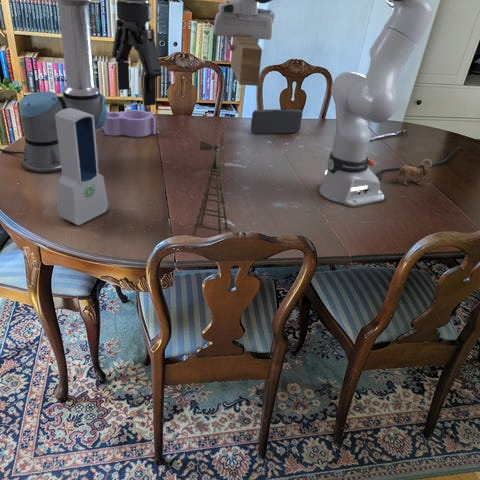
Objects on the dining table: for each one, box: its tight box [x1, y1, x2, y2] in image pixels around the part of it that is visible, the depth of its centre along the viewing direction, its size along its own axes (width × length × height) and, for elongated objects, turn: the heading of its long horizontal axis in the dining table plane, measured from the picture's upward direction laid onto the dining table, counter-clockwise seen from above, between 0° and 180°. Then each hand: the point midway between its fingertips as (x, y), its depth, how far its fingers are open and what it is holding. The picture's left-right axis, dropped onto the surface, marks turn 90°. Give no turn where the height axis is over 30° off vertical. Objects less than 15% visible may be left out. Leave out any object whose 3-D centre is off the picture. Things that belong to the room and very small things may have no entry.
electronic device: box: [55, 108, 109, 226], centre depth 126 cm, size 12×8×30 cm, turn 148°
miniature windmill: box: [192, 132, 229, 237], centre depth 124 cm, size 9×8×30 cm
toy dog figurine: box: [392, 158, 433, 186], centre depth 172 cm, size 15×5×9 cm, turn 110°
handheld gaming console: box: [250, 108, 303, 135], centre depth 204 cm, size 23×3×10 cm, turn 108°
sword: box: [370, 131, 408, 142], centre depth 215 cm, size 31×3×1 cm, turn 126°
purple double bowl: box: [103, 109, 156, 138], centre depth 190 cm, size 20×12×7 cm, turn 109°
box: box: [230, 35, 263, 87], centre depth 155 cm, size 26×6×11 cm, turn 7°
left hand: (136, 97), depth 115 cm, fingers open, 13 cm apart
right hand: (241, 51), depth 163 cm, fingers closed on box, 6 cm apart
